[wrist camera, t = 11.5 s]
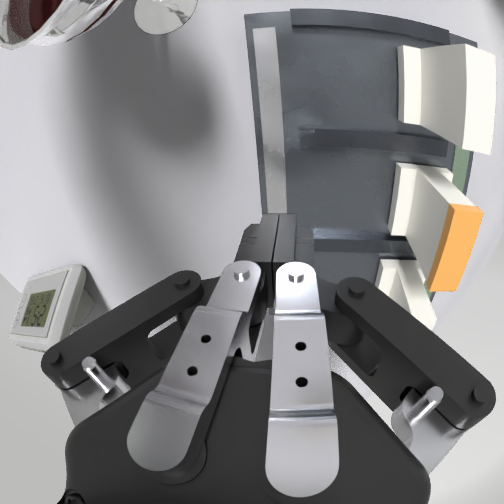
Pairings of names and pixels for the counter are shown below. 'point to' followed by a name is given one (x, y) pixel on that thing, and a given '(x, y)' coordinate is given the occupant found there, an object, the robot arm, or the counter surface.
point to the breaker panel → (340, 129)
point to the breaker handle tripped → (434, 222)
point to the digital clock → (51, 308)
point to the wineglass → (81, 18)
